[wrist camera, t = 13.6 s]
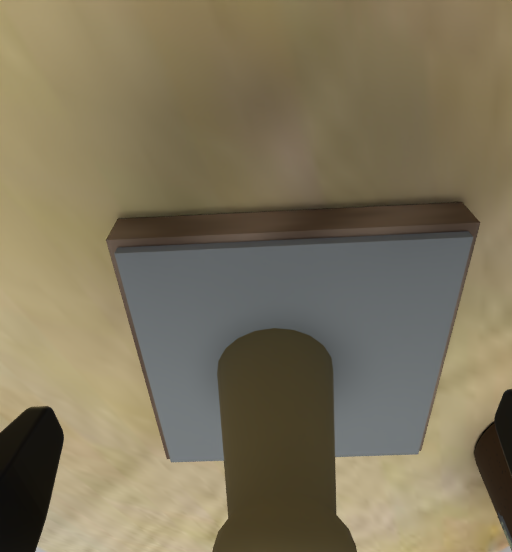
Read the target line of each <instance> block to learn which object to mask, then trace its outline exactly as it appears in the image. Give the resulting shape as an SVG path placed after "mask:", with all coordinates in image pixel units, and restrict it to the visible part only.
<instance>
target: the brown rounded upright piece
mask: <svg viewBox="0 0 512 552" xmlns="http://www.w3.org/2000/svg"><path fill="white" fill-rule="evenodd" d="M217 378H218V391H219V404H220V417H221V429H222V442H223V455H224V468H225V480H226V493H227V506H228V520H227V521H226V522H225V524H224V525H223V526H222V528H221V529H220V530H219V531H218V534H217V538H216V541H215V544H214V547H213V552H357V550H356V545H355V543H354V541H353V538H352V536H351V533H350V531H349V529H348V528H347V526H346V525H345V524H344V523H343V522H342V521H341V520H340V519H339V517H338V516H337V515H336V480H335V430H334V380H333V365H332V358H331V356H330V355H329V353H328V351H327V350H326V348H325V347H324V345H322V344H321V343H320V342H318V341H317V340H316V339H314V338H313V337H311V336H310V335H307V334H304V333H301V332H298V331H295V330H290V329H279V328H271V329H265V330H258V331H254V332H251V333H249V334H247V335H244V336H242V337H239V338H238V339H236V340H235V341H234V342H233V343H232V344H230V345H229V346H228V347H227V348H226V349H225V350H224V352H223V354H222V355H221V357H220V359H219V361H218V370H217Z"/></svg>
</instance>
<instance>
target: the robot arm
mask: <svg viewBox="0 0 512 552" xmlns="http://www.w3.org/2000/svg"><path fill="white" fill-rule="evenodd" d="M495 427H496V431H497V434H498V437H499V440H500V443H501V446H502V449H503V452H504V455H505V458H506V461H507V464H508V467H509V470H510V473H511V476H512V389H509V390H506V391H505V392H504V394H503V396H502V399H501V401H500V404H499V407H498V409H497V412H496V414H495ZM63 441H64V435H63V430H62V428H61V426H60V424H59V422H58V420H57V417H56V415H55V413H54V411H53V409H52V408H50V407H48V406H41V407H30V408H28V409H26V410H25V411H24V412H23V413H22V414H20V415H19V416H18V417H17V418H16V419H15V420H14V421H13V422H12V423H10V424H9V425H8V426H7V427H6V428H5V429H4V430H3V431H2V432H0V552H35V551H36V548H37V545H38V542H39V539H40V536H41V533H42V530H43V526H44V523H45V520H46V516H47V512H48V508H49V504H50V500H51V495H52V491H53V486H54V482H55V478H56V473H57V469H58V464H59V460H60V455H61V451H62V446H63Z"/></svg>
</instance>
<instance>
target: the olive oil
mask: <svg viewBox="0 0 512 552" xmlns="http://www.w3.org/2000/svg"><path fill="white" fill-rule="evenodd" d="M475 460H476V464H477V466H478V469H479V472H480V474H481V476H482V479H483V481H484V484H485V486H486V488H487V491H488V493H489V496H490V498H491V500H492V503H493V505H494V508H495V510H496V513H497V515H498V518H499V521H500V523H501V526H502V528H503V530H504V533H505V535H506V538H507V540H508V543H509V545H510V548H511V550H512V476H511V473H510V470H509V467H508V464H507V461H506V458H505V455H504V452H503V449H502V446H501V443H500V440H499V437H498V434H497V431H496V427H495V423H494V424H493V425H492V426H490V427H489V428H488V429H487V430H486V431H485V433H484V434H483V435H482V436H481V438H480V440H479V442H478V443H477V446H476V449H475Z"/></svg>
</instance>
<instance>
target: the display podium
mask: <svg viewBox="0 0 512 552" xmlns="http://www.w3.org/2000/svg"><path fill="white" fill-rule="evenodd" d="M479 225H480V222H479V221H478V219H477V218H476V217H475V216H474V215H473V214H472V213H471V212H470V211H469V209H468V208H467V207H466V206H465V205H464V204H463V203H462V202H457V203H436V204H416V205H395V206H374V207H353V208H333V209H312V210H291V211H270V212H250V213H229V214H208V215H188V216H167V217H146V218H125V219H117V221H116V223H115V225H114V227H113V229H112V230H111V232H110V234H109V236H108V238H107V239H106V241H107V245H108V249H109V252H110V256H111V259H112V263H113V267H114V270H115V274H116V277H117V281H118V285H119V288H120V292H121V295H122V299H123V303H124V306H125V310H126V313H127V317H128V321H129V324H130V328H131V331H132V335H133V339H134V342H135V346H136V349H137V353H138V357H139V360H140V364H141V367H142V371H143V375H144V378H145V382H146V385H147V389H148V392H149V396H150V400H151V403H152V407H153V410H154V414H155V418H156V421H157V425H158V428H159V432H160V436H161V439H162V443H163V446H164V450H165V454H166V457H167V459H170V460H171V462H195V461H224V455H223V442H222V429H221V417H220V404H219V391H218V378H217V370H218V361H219V359H220V357H221V355H222V354H223V352H224V350H225V349H226V348H227V347H228V346H229V345H230V344H232V343H233V342H234V341H235V340H236V339H238V338H239V337H242V336H244V335H247V334H249V333H251V332H254V331H258V330H265V329H271V328H279V329H290V330H295V331H298V332H301V333H304V334H307V335H310V336H311V337H313V338H314V339H316V340H317V341H318V342H320V343H321V344H322V345H324V347H325V348H326V350H327V351H328V353H329V355H330V356H331V358H332V365H333V380H334V430H335V457H348V456H379V455H410V454H418V452H419V451H421V449H422V445H423V442H424V438H425V434H426V430H427V426H428V422H429V418H430V415H431V411H432V407H433V403H434V399H435V395H436V391H437V387H438V384H439V380H440V376H441V372H442V368H443V364H444V360H445V357H446V353H447V349H448V345H449V341H450V337H451V333H452V330H453V326H454V322H455V318H456V314H457V310H458V306H459V302H460V299H461V295H462V291H463V287H464V283H465V279H466V275H467V272H468V268H469V264H470V260H471V256H472V252H473V248H474V245H475V241H476V237H477V233H478V229H479Z"/></svg>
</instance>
